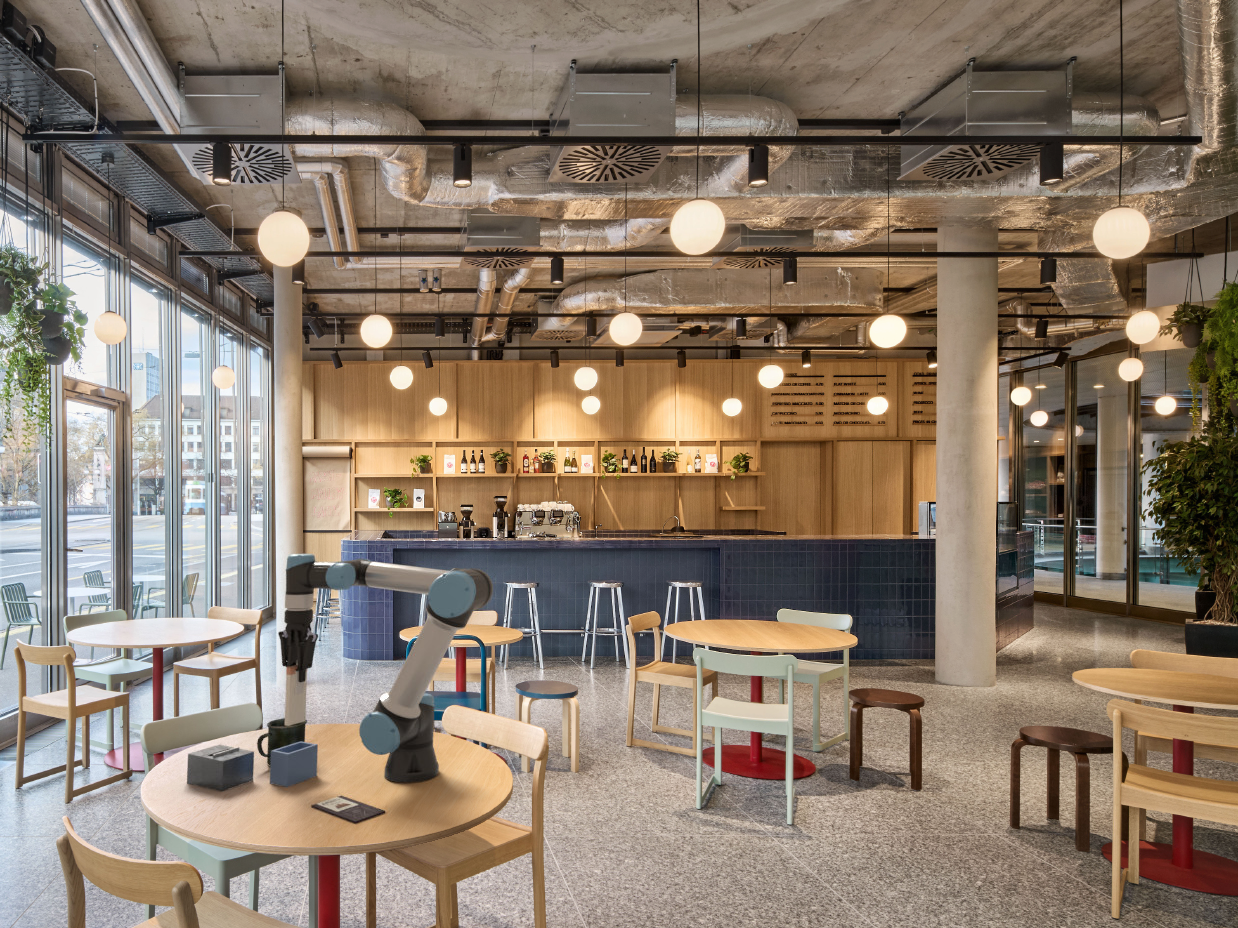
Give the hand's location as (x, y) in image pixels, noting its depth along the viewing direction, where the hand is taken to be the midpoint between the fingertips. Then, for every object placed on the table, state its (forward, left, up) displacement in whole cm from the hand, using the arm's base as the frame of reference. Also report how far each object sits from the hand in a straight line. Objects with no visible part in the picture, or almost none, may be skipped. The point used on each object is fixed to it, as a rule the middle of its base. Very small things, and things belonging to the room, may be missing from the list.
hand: (296, 692), depth 233 cm
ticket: (0, 0, -8) cm, 8 cm away
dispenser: (+16, +11, -24) cm, 31 cm away
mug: (+14, -8, -24) cm, 29 cm away
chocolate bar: (-30, +10, -25) cm, 40 cm away
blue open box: (0, 0, -24) cm, 24 cm away
